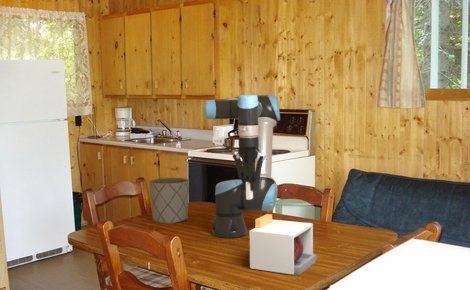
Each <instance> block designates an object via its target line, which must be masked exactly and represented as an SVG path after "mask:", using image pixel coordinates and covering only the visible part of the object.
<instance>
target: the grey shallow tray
mask: <svg viewBox="0 0 470 290" xmlns="http://www.w3.org/2000/svg"><path fill="white" fill-rule="evenodd" d="M317 255H318V254H315V253H313V254H308V253H302V256H301V257H300V258H299V259H298V260H296V261H295V262H294V274H293V275H296V276H300V275H302V274H303V273H304V272H306V271H307V270H309V268H310V267H312V266H313V265H314V264H315V263H316V262H317V261H318V260H317V259H318V258H317V257H318V256H317Z"/></svg>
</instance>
